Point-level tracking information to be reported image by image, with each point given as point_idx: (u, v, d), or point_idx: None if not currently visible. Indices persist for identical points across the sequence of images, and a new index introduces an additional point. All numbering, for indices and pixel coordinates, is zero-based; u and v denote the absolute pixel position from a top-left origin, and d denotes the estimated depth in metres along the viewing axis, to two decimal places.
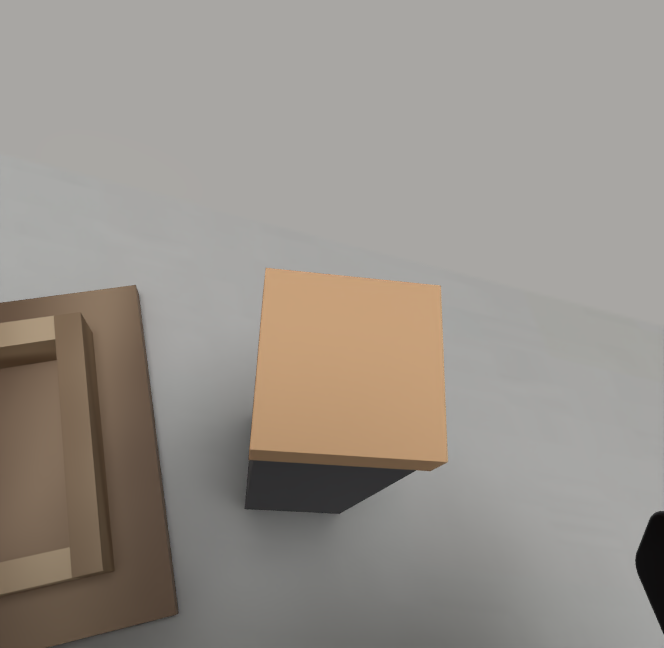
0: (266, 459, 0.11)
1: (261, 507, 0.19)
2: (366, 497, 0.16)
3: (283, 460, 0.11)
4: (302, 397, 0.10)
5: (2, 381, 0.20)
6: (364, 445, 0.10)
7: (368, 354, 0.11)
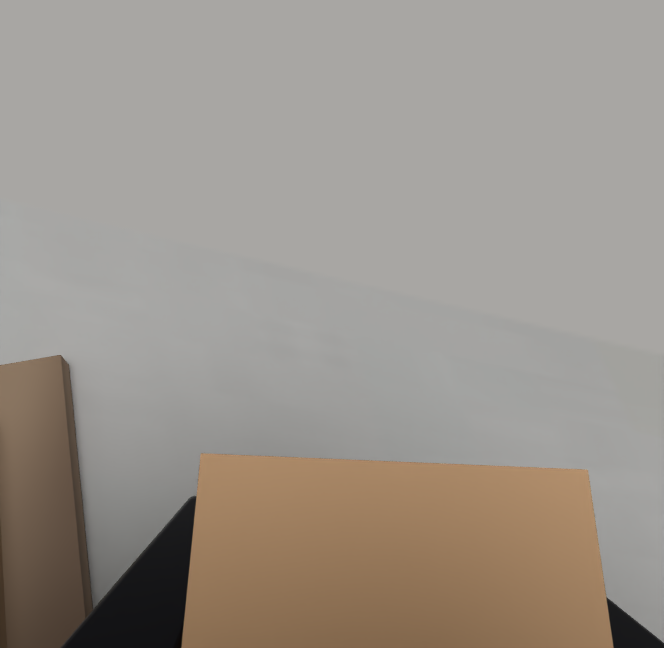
0: None
1: None
2: None
3: None
4: None
5: None
6: None
7: None
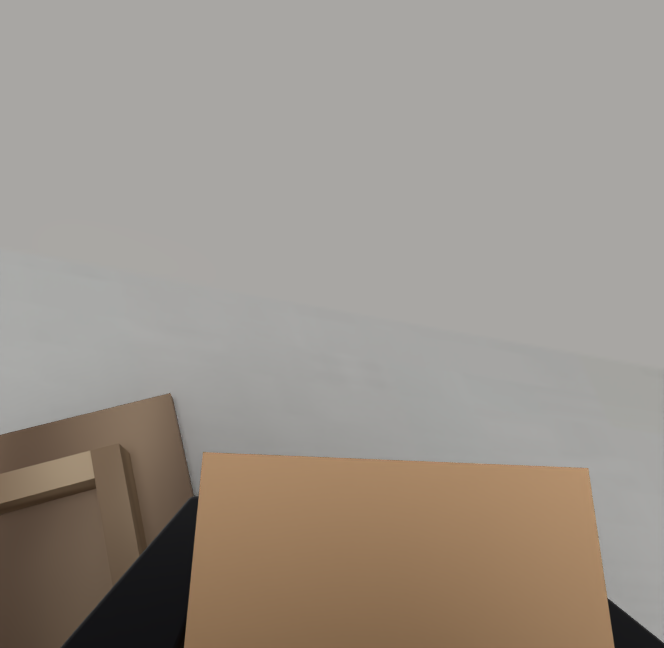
0: None
1: None
2: None
3: None
4: None
5: (37, 520, 0.18)
6: None
7: None
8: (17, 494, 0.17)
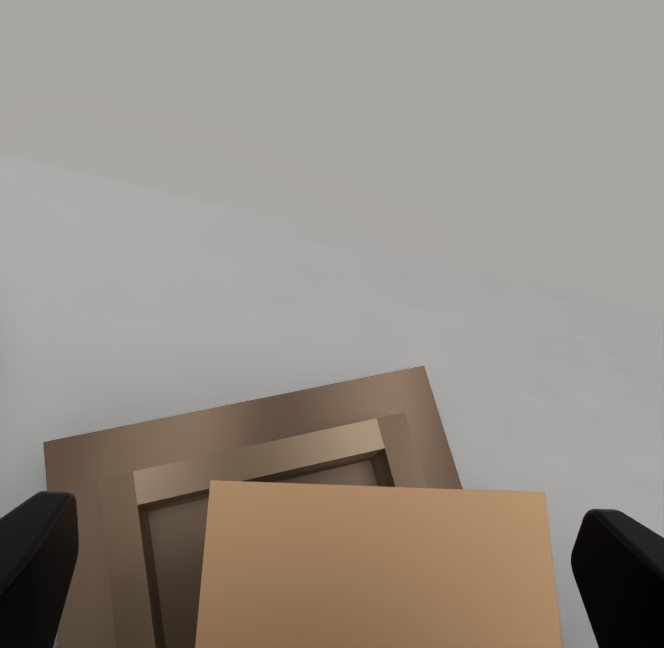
0: None
1: None
2: None
3: None
4: None
5: None
6: None
7: None
8: (308, 460, 0.15)
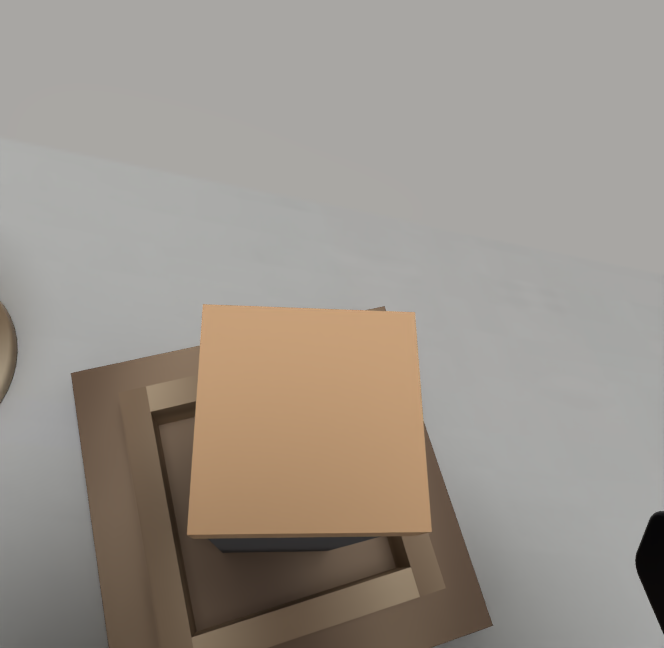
0: (213, 538, 0.09)
1: (239, 551, 0.18)
2: (350, 544, 0.14)
3: (234, 537, 0.09)
4: (250, 463, 0.09)
5: None
6: (329, 518, 0.08)
7: (331, 403, 0.09)
8: None
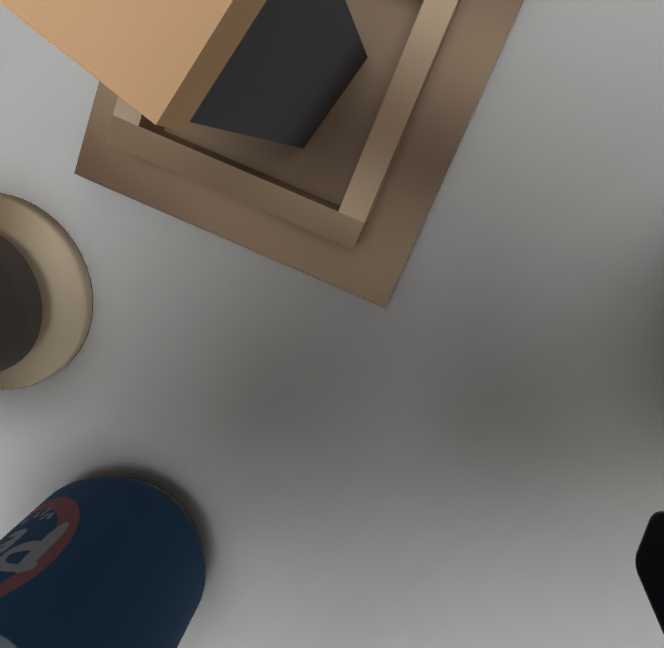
0: (191, 110, 0.09)
1: (309, 132, 0.17)
2: (350, 17, 0.13)
3: (203, 92, 0.08)
4: (129, 22, 0.08)
5: None
6: None
7: None
8: None
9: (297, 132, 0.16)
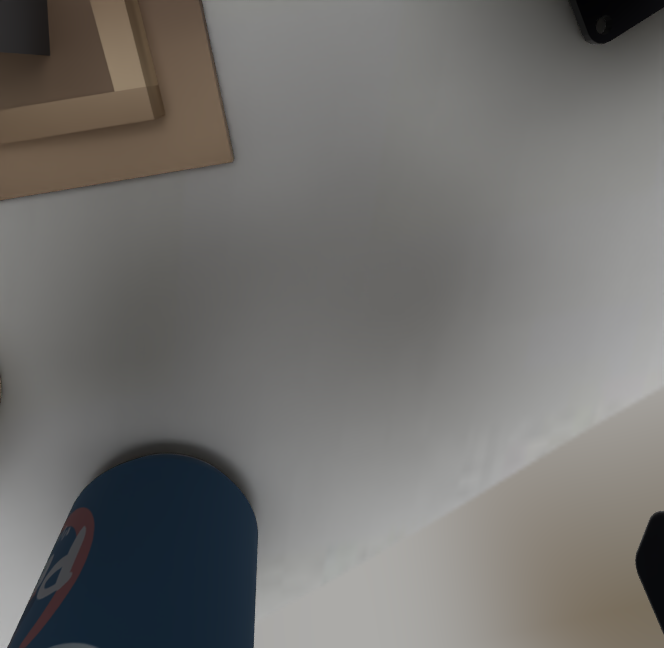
0: None
1: (39, 32, 0.16)
2: None
3: None
4: None
5: None
6: None
7: None
8: None
9: (16, 34, 0.14)
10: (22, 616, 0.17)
